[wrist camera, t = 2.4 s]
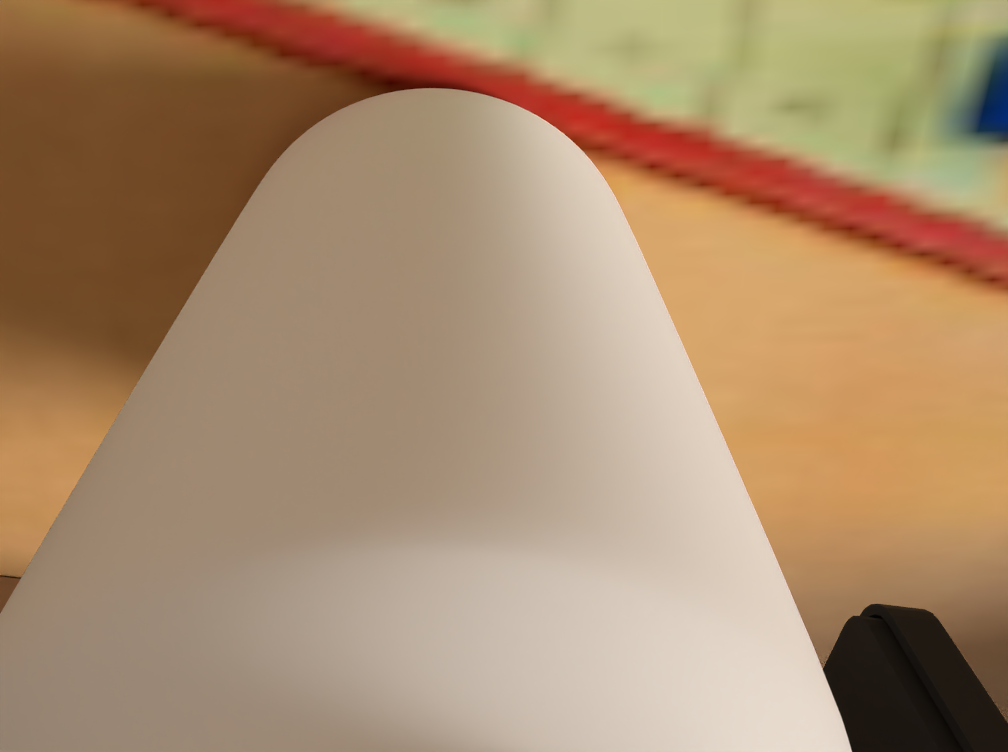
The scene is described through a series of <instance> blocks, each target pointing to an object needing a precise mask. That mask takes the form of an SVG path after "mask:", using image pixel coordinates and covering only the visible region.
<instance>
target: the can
mask: <svg viewBox="0 0 1008 752" xmlns="http://www.w3.org/2000/svg"><path fill="white" fill-rule="evenodd" d="M0 752H852V750H851V747H850V743H849V740H848V736H847V733H846V730H845V727H844V724H843V721H842V717H841V715H840V712H839V710H838V707H837V705H836V702H835V700H834V697H833V695H832V692H831V690H830V687H829V685H828V682H827V679H826V677H825V674H824V672H823V669H822V667H821V664H820V662H819V659H818V657H817V654H816V652H815V649H814V647H813V644H812V642H811V639H810V637H809V635H808V632H807V630H806V628H805V625H804V623H803V621H802V618H801V616H800V614H799V611H798V609H797V607H796V604H795V602H794V600H793V597H792V595H791V592H790V590H789V588H788V585H787V583H786V581H785V578H784V576H783V574H782V571H781V569H780V567H779V564H778V562H777V560H776V557H775V555H774V553H773V550H772V548H771V546H770V543H769V541H768V539H767V536H766V534H765V532H764V529H763V527H762V525H761V523H760V520H759V518H758V516H757V513H756V511H755V509H754V506H753V504H752V502H751V500H750V497H749V495H748V493H747V490H746V488H745V486H744V483H743V481H742V479H741V477H740V474H739V472H738V470H737V467H736V465H735V463H734V460H733V458H732V456H731V454H730V451H729V449H728V447H727V444H726V442H725V440H724V437H723V435H722V433H721V431H720V428H719V426H718V424H717V422H716V419H715V417H714V415H713V412H712V410H711V408H710V406H709V403H708V401H707V399H706V396H705V394H704V392H703V390H702V387H701V385H700V383H699V381H698V378H697V376H696V374H695V371H694V369H693V367H692V365H691V362H690V360H689V358H688V356H687V353H686V351H685V349H684V346H683V344H682V342H681V340H680V337H679V335H678V333H677V331H676V328H675V326H674V324H673V322H672V319H671V317H670V315H669V313H668V310H667V308H666V306H665V304H664V301H663V299H662V297H661V295H660V292H659V290H658V288H657V286H656V283H655V281H654V279H653V277H652V274H651V272H650V270H649V268H648V266H647V263H646V261H645V259H644V257H643V255H642V252H641V250H640V248H639V246H638V243H637V241H636V239H635V237H634V235H633V233H632V230H631V228H630V226H629V224H628V222H627V220H626V218H625V215H624V213H623V211H622V209H621V207H620V205H619V203H618V201H617V199H616V198H615V196H614V194H613V192H612V190H611V188H610V187H609V185H608V184H607V182H606V180H605V179H604V177H603V176H602V175H601V173H600V172H599V170H598V169H597V168H596V166H595V165H594V164H593V163H592V161H591V160H590V159H589V158H588V157H587V156H586V154H585V153H584V152H583V151H582V150H581V149H580V148H579V147H578V146H577V145H576V144H575V143H574V142H573V141H572V140H570V139H569V138H568V137H567V136H566V135H564V134H563V133H562V132H561V131H559V130H558V129H557V128H555V127H554V126H552V125H551V124H550V123H548V122H547V121H545V120H543V119H542V118H540V117H538V116H537V115H535V114H533V113H531V112H529V111H527V110H525V109H523V108H521V107H519V106H517V105H514V104H512V103H509V102H507V101H504V100H501V99H498V98H495V97H491V96H488V95H484V94H480V93H475V92H470V91H464V90H456V89H444V88H421V89H409V90H401V91H395V92H390V93H385V94H381V95H377V96H374V97H370V98H367V99H364V100H361V101H359V102H356V103H354V104H351V105H349V106H347V107H344V108H342V109H340V110H338V111H336V112H335V113H333V114H331V115H329V116H327V117H326V118H324V119H323V120H321V121H320V122H318V123H317V124H315V125H314V126H312V127H311V128H310V129H308V130H307V131H306V132H305V133H303V134H302V135H301V136H300V137H299V138H298V139H297V140H295V141H294V142H293V143H292V144H291V145H290V146H289V147H288V148H287V149H286V150H285V151H284V152H283V154H282V155H281V156H280V157H279V158H278V159H277V160H276V162H275V163H274V164H273V165H272V167H271V168H270V170H269V171H268V172H267V174H266V175H265V177H264V178H263V179H262V181H261V182H260V184H259V185H258V187H257V189H256V190H255V192H254V193H253V195H252V196H251V198H250V199H249V201H248V203H247V204H246V206H245V207H244V209H243V210H242V212H241V214H240V215H239V217H238V218H237V220H236V222H235V223H234V225H233V227H232V228H231V230H230V231H229V233H228V235H227V236H226V238H225V240H224V241H223V243H222V244H221V246H220V248H219V249H218V251H217V252H216V254H215V256H214V257H213V259H212V261H211V262H210V264H209V266H208V267H207V269H206V271H205V272H204V274H203V275H202V277H201V279H200V280H199V282H198V284H197V285H196V287H195V289H194V290H193V292H192V294H191V295H190V297H189V298H188V300H187V302H186V303H185V305H184V307H183V308H182V310H181V312H180V313H179V315H178V317H177V318H176V320H175V321H174V323H173V325H172V326H171V328H170V330H169V331H168V333H167V335H166V336H165V338H164V340H163V341H162V343H161V345H160V346H159V348H158V350H157V351H156V353H155V355H154V356H153V358H152V360H151V361H150V363H149V365H148V366H147V368H146V370H145V371H144V373H143V374H142V376H141V378H140V379H139V381H138V383H137V384H136V386H135V388H134V389H133V391H132V393H131V394H130V396H129V398H128V399H127V401H126V403H125V404H124V406H123V408H122V409H121V411H120V413H119V414H118V416H117V418H116V419H115V421H114V423H113V424H112V426H111V428H110V429H109V431H108V433H107V434H106V436H105V438H104V439H103V441H102V443H101V444H100V446H99V448H98V449H97V451H96V453H95V454H94V456H93V458H92V459H91V461H90V463H89V464H88V466H87V468H86V469H85V471H84V473H83V474H82V476H81V478H80V479H79V481H78V483H77V484H76V486H75V488H74V490H73V491H72V493H71V495H70V496H69V498H68V500H67V501H66V503H65V505H64V506H63V508H62V510H61V511H60V513H59V515H58V516H57V518H56V520H55V521H54V523H53V525H52V526H51V528H50V530H49V531H48V533H47V535H46V537H45V538H44V540H43V542H42V543H41V545H40V547H39V549H38V550H37V552H36V554H35V555H34V557H33V559H32V560H31V562H30V564H29V566H28V567H27V569H26V571H25V572H24V574H23V576H22V577H21V579H20V581H19V583H18V584H17V586H16V588H15V589H14V591H13V593H12V594H11V596H10V598H9V600H8V601H7V603H6V605H5V606H4V608H3V610H2V612H1V613H0Z"/></svg>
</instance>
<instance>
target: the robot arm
mask: <svg viewBox="0 0 1008 752" xmlns="http://www.w3.org/2000/svg"><path fill="white" fill-rule="evenodd" d="M823 672H824V674H825V677H826V679H827V682H828V685H829V687H830V690H831V692H832V695H833V697H834V700H835V702H836V705H837V707H838V710H839V712H840V715H841V717H842V721H843V724H844V727H845V730H846V733H847V736H848V740H849V743H850V747H851V750H852V752H1008V723H1007V722H1006V720H1005V719H1004V717H1003V716H1002V714H1001V713H1000V711H999V710H998V708H997V707H996V705H995V704H994V702H993V701H992V699H991V698H990V696H989V695H988V693H987V692H986V690H985V689H984V687H983V686H982V684H981V683H980V681H979V680H978V678H977V677H976V675H975V674H974V672H973V671H972V669H971V668H970V666H969V665H968V663H967V662H966V660H965V659H964V657H963V656H962V654H961V653H960V651H959V650H958V648H957V647H956V645H955V644H954V642H953V641H952V639H951V638H950V636H949V635H948V633H947V632H946V630H945V629H944V627H943V626H942V624H941V623H940V621H939V620H938V619H937V618H936V617H935V616H934V615H933V613H931V612H929V611H927V610H924V609H916V608H908V607H899V606H891V605H883V604H871V605H869V606H868V607H866V608H865V609H864V610H863V612H862V613H861V615H860V616H853V617H851V618H850V619H848V621H847V622H846V624H845V625H844V627H843V629H842V631H841V633H840V635H839V638H838V640H837V642H836V644H835V646H834V648H833V650H832V652H831V654H830V656H829V658H828V660H827V662H826V664H825V666H824V668H823Z"/></svg>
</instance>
